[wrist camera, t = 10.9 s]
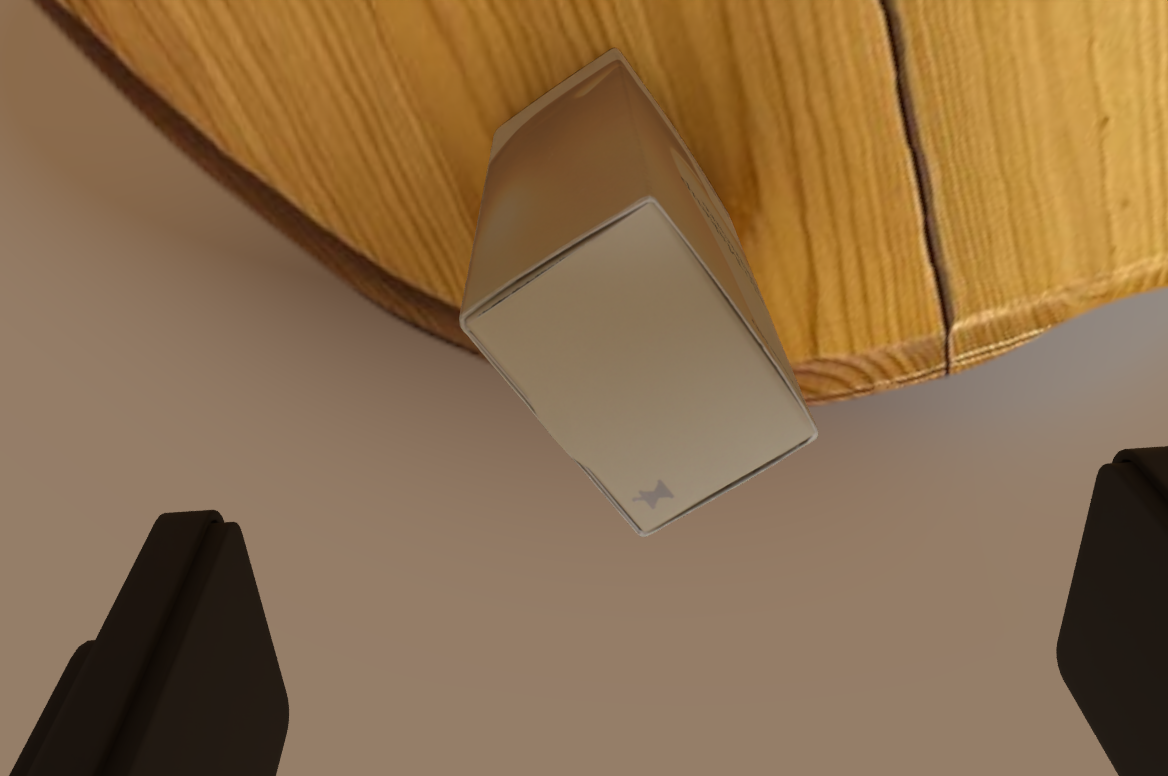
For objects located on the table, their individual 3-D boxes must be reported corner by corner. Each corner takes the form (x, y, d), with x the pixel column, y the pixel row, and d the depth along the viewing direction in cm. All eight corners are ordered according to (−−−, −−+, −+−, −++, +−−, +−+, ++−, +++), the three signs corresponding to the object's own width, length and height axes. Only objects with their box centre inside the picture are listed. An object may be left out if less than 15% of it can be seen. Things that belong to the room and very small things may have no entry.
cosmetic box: (734, 216, 31) (838, 449, 20) (611, 295, 32) (649, 555, 21) (610, 30, 28) (656, 187, 17) (480, 125, 29) (449, 326, 18)
